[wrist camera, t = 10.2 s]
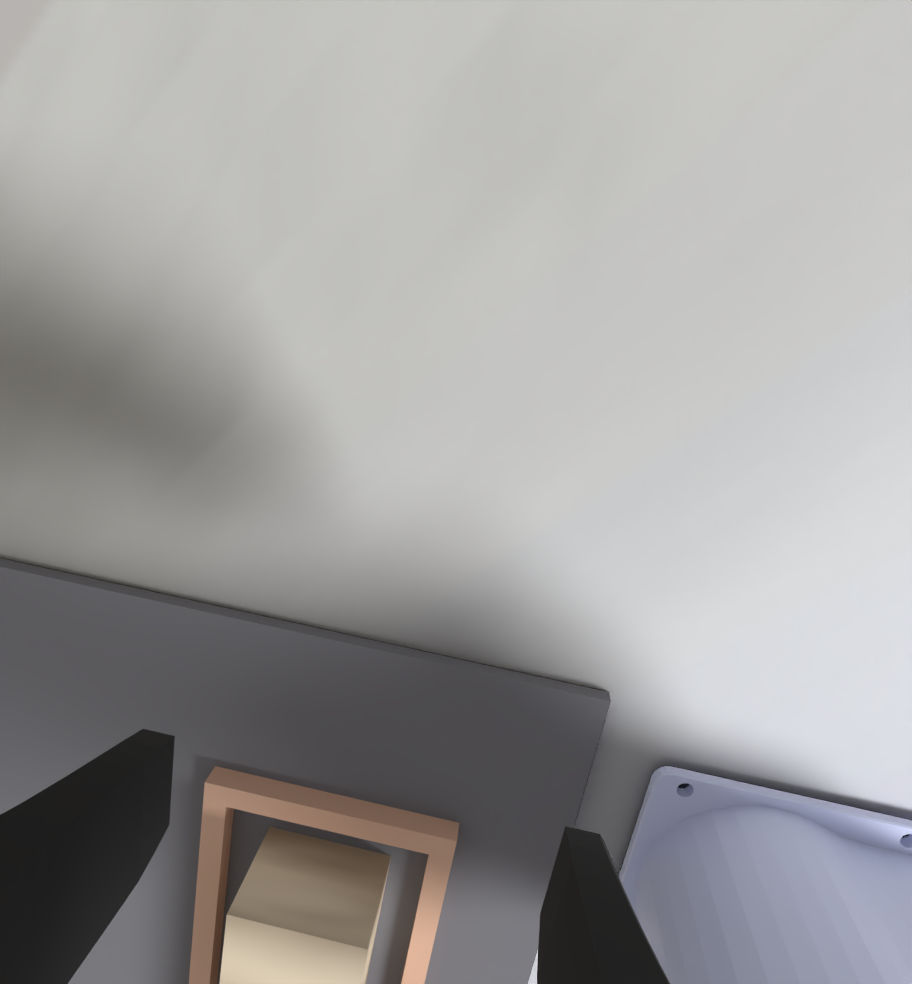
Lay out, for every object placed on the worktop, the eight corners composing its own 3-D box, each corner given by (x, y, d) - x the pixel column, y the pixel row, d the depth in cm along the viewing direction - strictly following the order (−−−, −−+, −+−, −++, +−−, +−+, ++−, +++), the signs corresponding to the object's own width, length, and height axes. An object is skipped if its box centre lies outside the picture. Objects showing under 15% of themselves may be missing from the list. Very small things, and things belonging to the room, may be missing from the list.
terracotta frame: (459, 822, 23) (456, 841, 22) (396, 1098, 27) (392, 1122, 26) (215, 766, 23) (204, 782, 22) (191, 1046, 28) (182, 1068, 27)
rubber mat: (608, 692, 21) (610, 701, 21) (487, 1107, 27) (486, 1122, 27) (-102, 535, 23) (-116, 541, 22) (-67, 967, 29) (-77, 978, 28)
